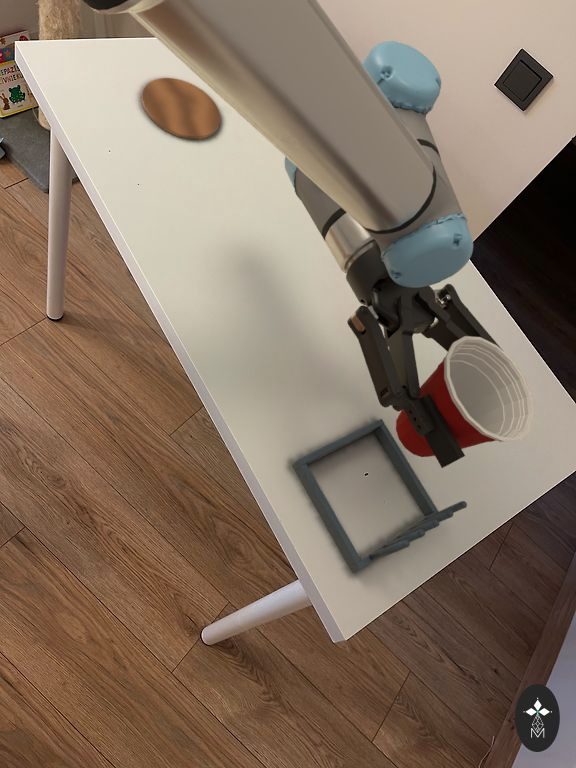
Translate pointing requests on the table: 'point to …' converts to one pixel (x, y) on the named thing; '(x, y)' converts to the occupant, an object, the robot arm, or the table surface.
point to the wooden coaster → (180, 108)
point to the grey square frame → (410, 479)
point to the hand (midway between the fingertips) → (486, 445)
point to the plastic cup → (474, 397)
